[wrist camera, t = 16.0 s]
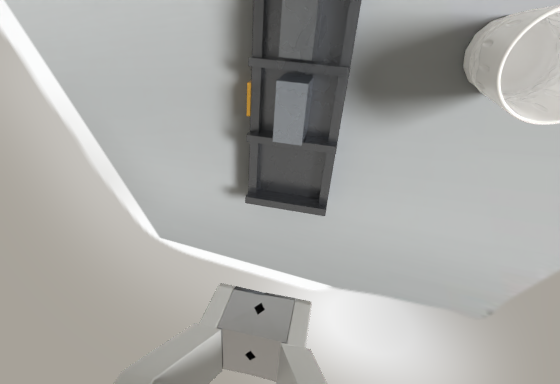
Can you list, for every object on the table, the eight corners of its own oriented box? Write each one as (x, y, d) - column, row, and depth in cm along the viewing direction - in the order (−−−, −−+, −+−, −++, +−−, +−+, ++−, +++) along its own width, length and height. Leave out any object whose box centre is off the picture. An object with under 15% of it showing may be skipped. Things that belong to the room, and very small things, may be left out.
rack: (256, -37, 30) (237, -49, 25) (366, -31, 29) (369, -42, 24) (249, 189, 42) (236, 212, 37) (326, 201, 41) (323, 227, 36)
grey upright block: (285, 73, 34) (276, 80, 29) (313, 76, 33) (308, 84, 29) (281, 127, 37) (272, 141, 32) (307, 130, 36) (301, 145, 32)
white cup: (459, 106, 33) (499, 136, 24) (452, 26, 30) (494, 27, 21) (550, 83, 30) (630, 107, 22) (551, -8, 27) (645, -21, 19)
